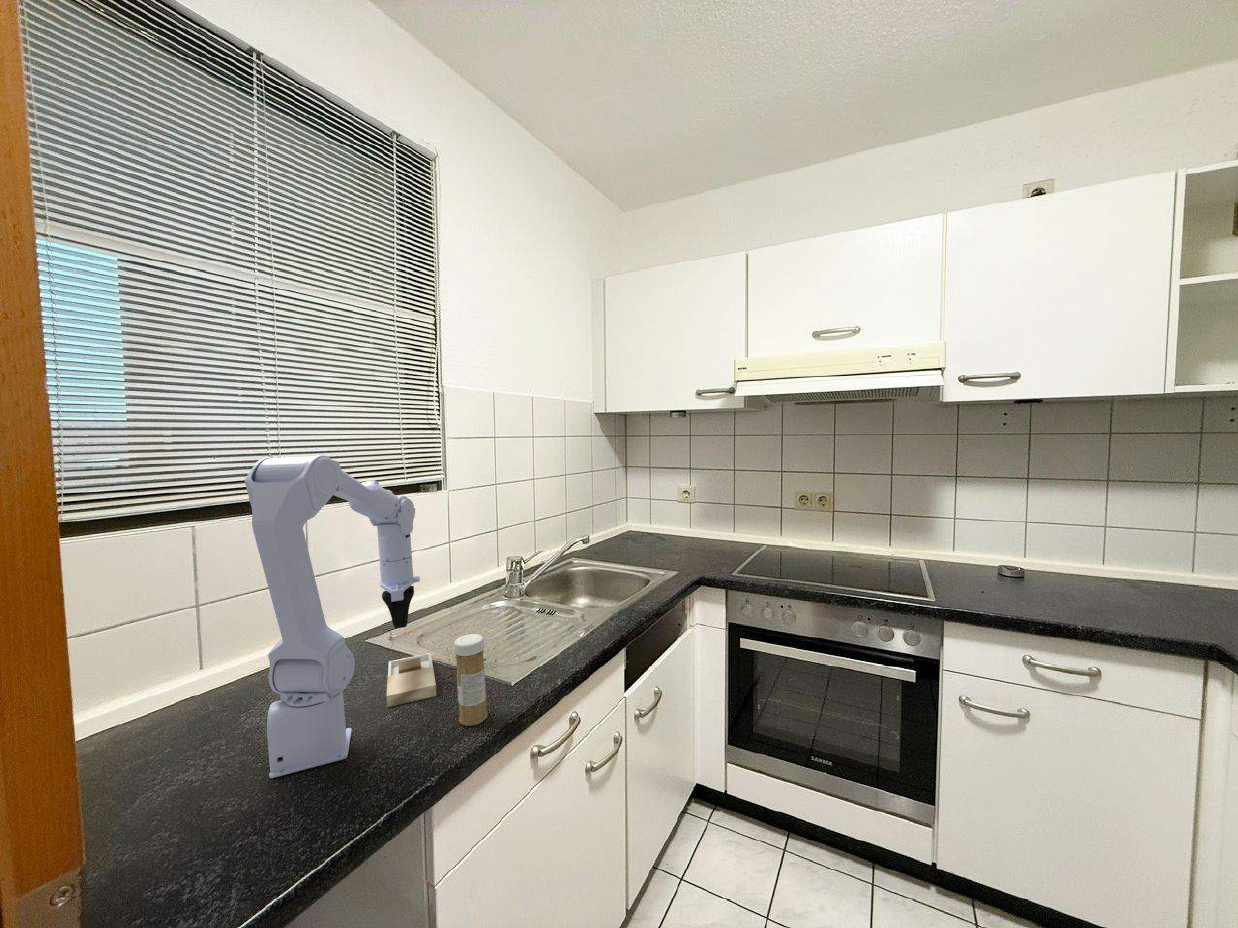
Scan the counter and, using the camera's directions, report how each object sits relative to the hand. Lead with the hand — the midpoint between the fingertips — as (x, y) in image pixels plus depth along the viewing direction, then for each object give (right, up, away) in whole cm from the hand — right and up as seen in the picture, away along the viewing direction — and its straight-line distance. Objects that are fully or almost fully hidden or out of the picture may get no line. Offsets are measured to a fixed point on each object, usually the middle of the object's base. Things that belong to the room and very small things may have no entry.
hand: (400, 626), depth 96 cm
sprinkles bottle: (+19, -10, -16) cm, 27 cm away
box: (+1, -10, +2) cm, 10 cm away
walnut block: (+2, -10, +1) cm, 10 cm away
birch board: (+5, -10, -6) cm, 12 cm away
